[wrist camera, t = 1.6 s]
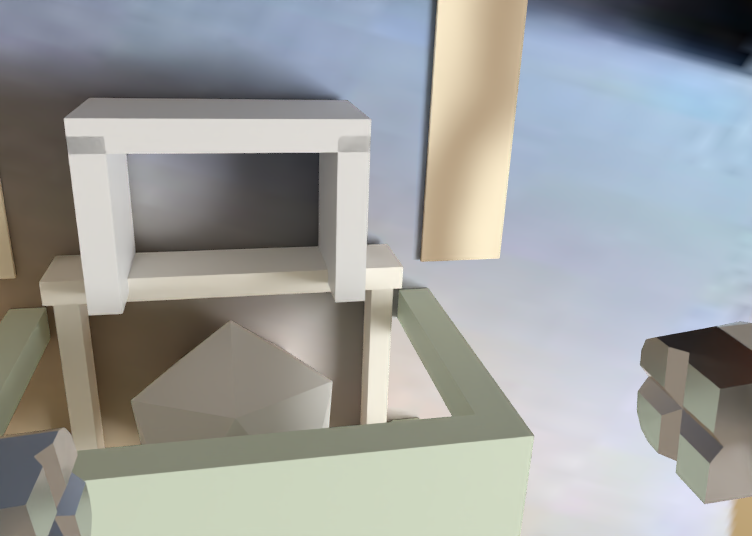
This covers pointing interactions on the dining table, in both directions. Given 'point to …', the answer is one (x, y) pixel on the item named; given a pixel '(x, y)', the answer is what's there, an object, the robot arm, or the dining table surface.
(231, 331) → the die
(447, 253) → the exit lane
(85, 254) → the white low frame
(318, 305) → the dining table surface
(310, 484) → the small green table
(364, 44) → the dining table surface
